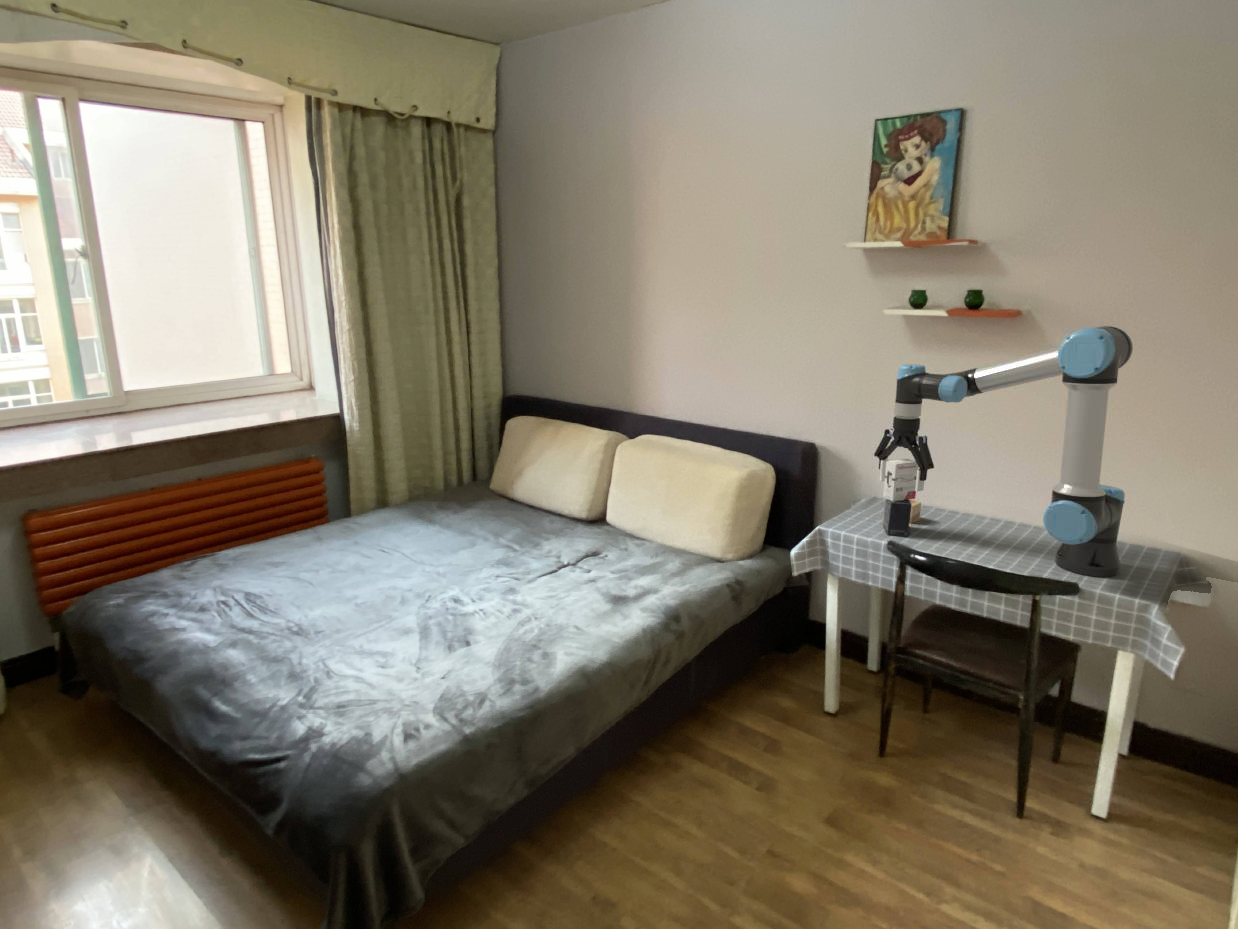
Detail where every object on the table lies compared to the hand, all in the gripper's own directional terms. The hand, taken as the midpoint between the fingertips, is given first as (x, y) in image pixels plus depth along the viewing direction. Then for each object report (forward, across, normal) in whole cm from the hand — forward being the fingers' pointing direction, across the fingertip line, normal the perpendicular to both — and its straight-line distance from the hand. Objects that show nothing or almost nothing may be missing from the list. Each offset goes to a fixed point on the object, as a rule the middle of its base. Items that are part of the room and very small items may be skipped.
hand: (900, 485), depth 232 cm
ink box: (+4, 0, 0) cm, 4 cm away
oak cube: (+15, +6, -12) cm, 20 cm away
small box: (+15, 0, 0) cm, 15 cm away
